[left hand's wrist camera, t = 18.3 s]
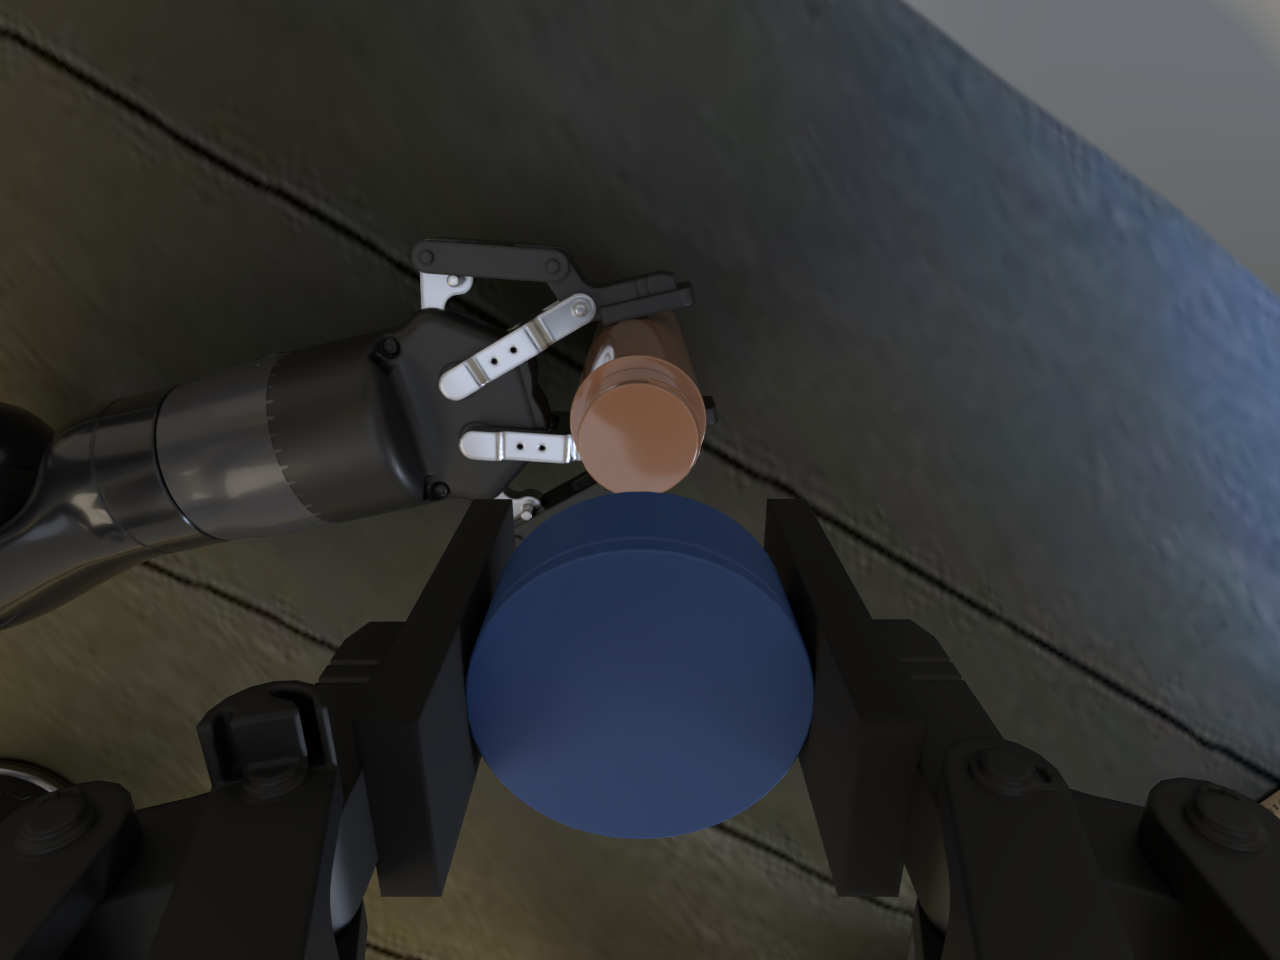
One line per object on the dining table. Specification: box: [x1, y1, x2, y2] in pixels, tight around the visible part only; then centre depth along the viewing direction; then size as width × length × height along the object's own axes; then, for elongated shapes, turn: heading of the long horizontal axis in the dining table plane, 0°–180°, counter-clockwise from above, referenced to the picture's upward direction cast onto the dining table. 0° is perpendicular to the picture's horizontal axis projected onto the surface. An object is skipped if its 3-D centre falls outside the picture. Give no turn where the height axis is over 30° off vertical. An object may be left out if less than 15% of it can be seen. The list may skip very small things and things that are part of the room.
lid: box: [465, 491, 814, 839], centre depth 11 cm, size 5×5×2 cm
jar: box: [570, 310, 706, 493], centre depth 29 cm, size 4×4×16 cm
